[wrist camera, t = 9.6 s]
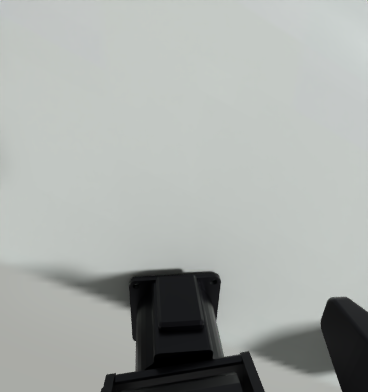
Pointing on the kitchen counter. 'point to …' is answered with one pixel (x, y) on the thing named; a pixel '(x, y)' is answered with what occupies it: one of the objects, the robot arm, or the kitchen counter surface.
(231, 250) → the kitchen counter surface
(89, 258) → the kitchen counter surface
